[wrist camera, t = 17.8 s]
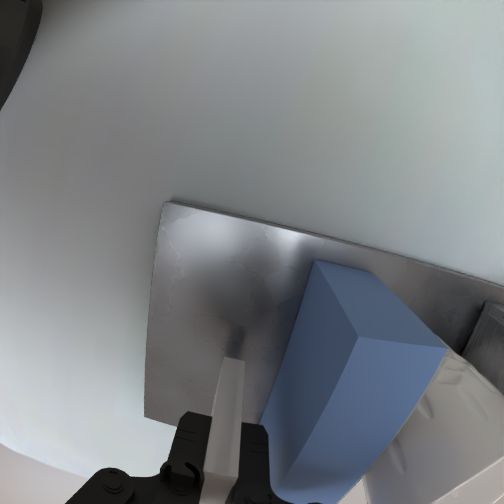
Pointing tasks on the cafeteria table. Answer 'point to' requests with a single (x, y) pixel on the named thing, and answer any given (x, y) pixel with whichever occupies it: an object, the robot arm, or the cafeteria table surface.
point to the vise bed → (265, 303)
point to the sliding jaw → (344, 384)
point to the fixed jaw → (488, 345)
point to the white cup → (445, 444)
